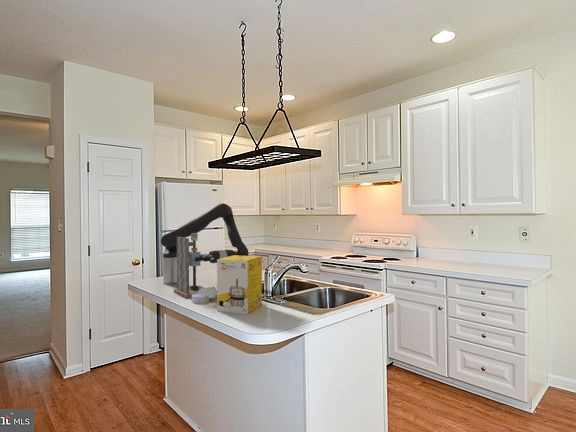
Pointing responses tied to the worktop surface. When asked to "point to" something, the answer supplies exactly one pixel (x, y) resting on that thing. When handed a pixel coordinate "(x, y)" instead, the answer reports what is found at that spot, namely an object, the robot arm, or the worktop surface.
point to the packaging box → (239, 284)
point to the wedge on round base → (203, 295)
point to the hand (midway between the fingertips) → (192, 258)
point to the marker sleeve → (192, 257)
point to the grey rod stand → (185, 267)
